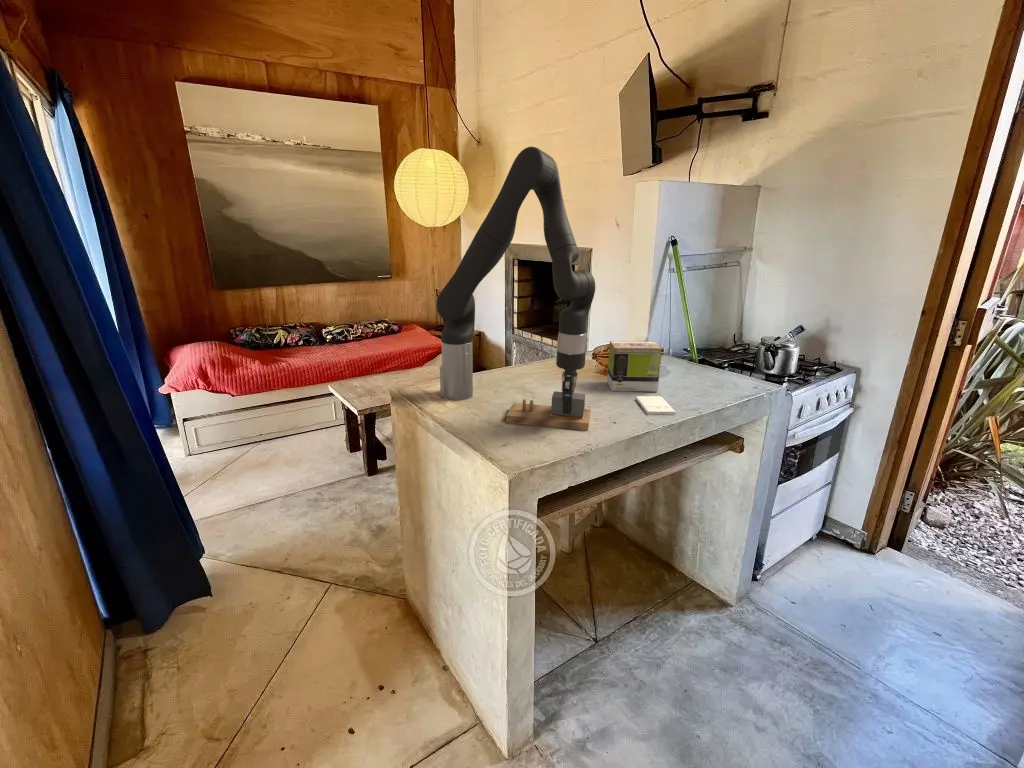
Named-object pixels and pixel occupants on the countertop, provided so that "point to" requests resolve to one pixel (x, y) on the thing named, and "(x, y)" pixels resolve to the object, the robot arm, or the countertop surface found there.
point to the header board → (545, 416)
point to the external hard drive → (655, 405)
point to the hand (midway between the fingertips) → (567, 409)
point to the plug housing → (576, 407)
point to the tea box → (634, 366)
